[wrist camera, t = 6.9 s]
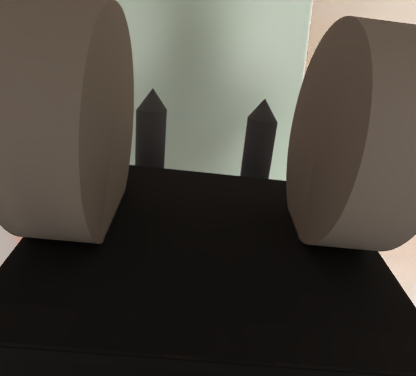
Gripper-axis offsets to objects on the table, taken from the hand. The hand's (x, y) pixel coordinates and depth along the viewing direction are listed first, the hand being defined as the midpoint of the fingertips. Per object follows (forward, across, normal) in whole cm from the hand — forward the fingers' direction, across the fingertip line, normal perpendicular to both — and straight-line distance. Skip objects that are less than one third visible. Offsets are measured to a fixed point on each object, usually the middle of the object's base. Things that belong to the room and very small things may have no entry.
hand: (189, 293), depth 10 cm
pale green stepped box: (+16, 0, 0) cm, 16 cm away
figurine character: (+2, 0, 0) cm, 2 cm away
